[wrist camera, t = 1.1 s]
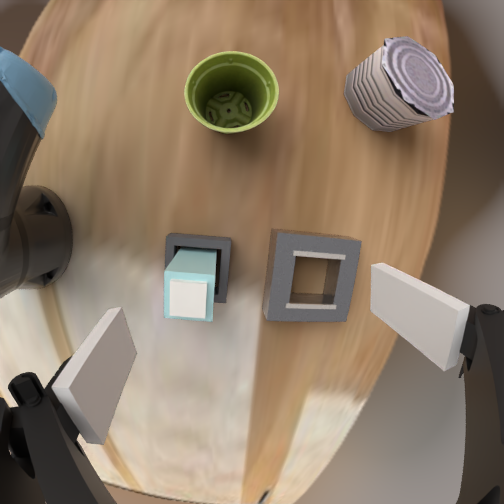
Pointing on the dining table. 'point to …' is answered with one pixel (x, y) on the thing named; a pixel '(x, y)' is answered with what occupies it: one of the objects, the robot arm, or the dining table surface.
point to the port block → (336, 283)
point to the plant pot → (231, 91)
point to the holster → (203, 242)
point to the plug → (190, 284)
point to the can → (399, 87)
